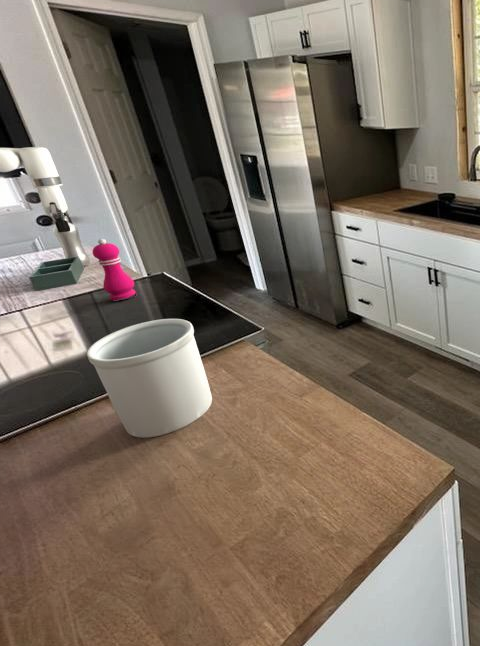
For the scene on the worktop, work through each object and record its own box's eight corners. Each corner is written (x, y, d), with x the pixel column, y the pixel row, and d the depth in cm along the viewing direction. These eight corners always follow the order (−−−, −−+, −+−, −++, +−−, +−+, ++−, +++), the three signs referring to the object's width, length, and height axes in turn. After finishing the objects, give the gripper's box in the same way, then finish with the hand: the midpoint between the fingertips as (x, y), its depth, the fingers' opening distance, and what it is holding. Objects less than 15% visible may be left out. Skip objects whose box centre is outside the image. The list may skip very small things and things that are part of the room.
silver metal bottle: (64, 268, 159) (42, 218, 152) (84, 263, 165) (64, 214, 158) (76, 270, 158) (54, 219, 151) (96, 264, 164) (76, 215, 157)
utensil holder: (226, 411, 82) (201, 335, 76) (129, 454, 72) (90, 370, 66) (205, 381, 92) (182, 311, 85) (117, 416, 81) (82, 339, 75)
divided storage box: (35, 291, 140) (28, 277, 138) (46, 274, 154) (41, 262, 152) (76, 283, 145) (71, 270, 144) (84, 268, 160) (79, 256, 158)
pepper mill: (108, 298, 134) (84, 239, 126) (137, 291, 138) (116, 234, 131) (109, 304, 129) (84, 244, 122) (139, 297, 134) (117, 238, 126)
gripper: (37, 180, 154) (56, 226, 161) (26, 186, 142) (48, 236, 148) (65, 178, 159) (83, 223, 165) (56, 184, 146) (77, 232, 153)
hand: (66, 229), depth 157 cm, fingers closed on silver metal bottle, 6 cm apart
